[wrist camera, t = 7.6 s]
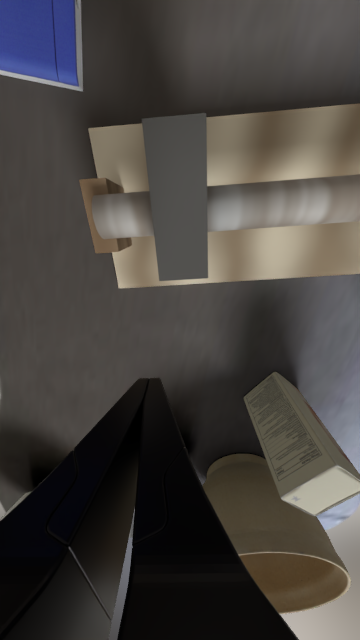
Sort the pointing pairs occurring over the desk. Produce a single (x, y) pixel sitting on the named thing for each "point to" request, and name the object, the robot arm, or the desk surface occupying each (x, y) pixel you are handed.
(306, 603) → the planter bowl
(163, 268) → the collar
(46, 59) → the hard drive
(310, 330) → the desk surface
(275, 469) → the skincare box
